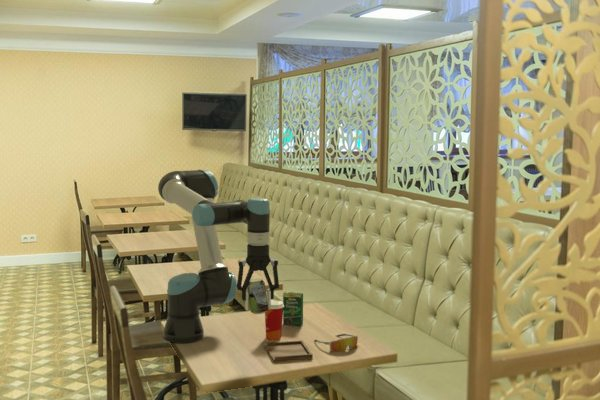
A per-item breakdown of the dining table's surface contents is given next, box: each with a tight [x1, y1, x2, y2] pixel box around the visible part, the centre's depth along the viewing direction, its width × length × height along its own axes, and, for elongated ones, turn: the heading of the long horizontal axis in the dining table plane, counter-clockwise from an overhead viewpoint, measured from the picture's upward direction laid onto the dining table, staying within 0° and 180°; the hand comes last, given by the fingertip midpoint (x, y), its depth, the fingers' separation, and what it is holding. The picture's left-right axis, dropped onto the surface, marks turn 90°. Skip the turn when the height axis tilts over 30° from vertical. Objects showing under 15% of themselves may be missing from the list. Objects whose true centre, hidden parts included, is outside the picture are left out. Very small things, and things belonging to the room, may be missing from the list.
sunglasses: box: [314, 333, 359, 352], centre depth 243 cm, size 14×15×5 cm
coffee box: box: [282, 291, 304, 327], centre depth 263 cm, size 8×3×13 cm, turn 70°
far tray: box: [264, 339, 313, 363], centre depth 233 cm, size 14×14×2 cm
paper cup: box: [264, 299, 284, 342], centre depth 247 cm, size 8×8×14 cm
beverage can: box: [247, 278, 268, 315], centre depth 225 cm, size 6×7×12 cm
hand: (257, 308), depth 226 cm, fingers closed on beverage can, 7 cm apart
